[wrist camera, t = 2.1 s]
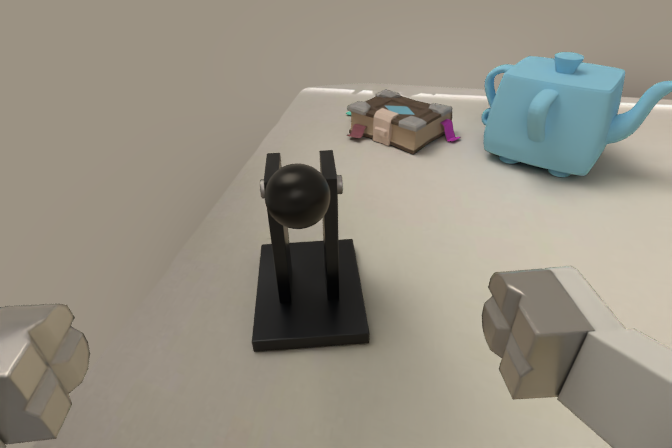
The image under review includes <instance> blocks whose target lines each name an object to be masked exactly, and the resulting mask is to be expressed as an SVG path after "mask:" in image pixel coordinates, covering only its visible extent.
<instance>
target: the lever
mask: <svg viewBox="0 0 672 448" xmlns="http://www.w3.org/2000/svg"><path fill="white" fill-rule="evenodd" d="M265 203H266V206H267V209H268V211H269V213H270V214H271V216H272V217H273V218H274V219H275V220H276V221H277V222H278V223H280V224H281V225H283V226H286V227H288V228H292V229H303V228H307V227H310V226H312V225H314V224H316V223H317V222H318V221H320V220H321V219H322V218H323V216H324V215H325V213H326V212H327V209H328V207H329V203H330V189H329V186H328V183H327V181H326V179H325V178H324V177H323V175H322V174H321V173H320V172H319V171H317V170H316V169H315V168H313V167H311V166H308V165H305V164H290V165H286V166H284V167H282V168H280V169H279V170H277V171H276V172H275V173H274V174H273V175H272V176H271V178H270V179H269V181H268V183H267V186H266V190H265Z"/></svg>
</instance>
